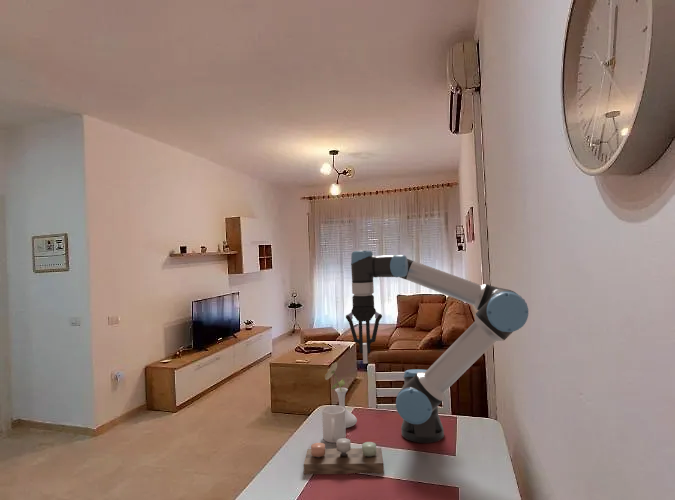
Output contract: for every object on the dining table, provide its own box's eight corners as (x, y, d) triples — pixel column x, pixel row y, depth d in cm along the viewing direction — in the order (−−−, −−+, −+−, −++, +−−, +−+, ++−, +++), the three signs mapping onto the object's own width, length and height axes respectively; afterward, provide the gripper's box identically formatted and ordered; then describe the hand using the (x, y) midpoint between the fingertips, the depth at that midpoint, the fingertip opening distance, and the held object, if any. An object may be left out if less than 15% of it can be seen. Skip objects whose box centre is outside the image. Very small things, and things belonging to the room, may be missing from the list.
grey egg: (350, 451, 129) (350, 438, 129) (350, 458, 125) (350, 444, 125) (337, 451, 129) (336, 438, 130) (336, 458, 125) (336, 444, 125)
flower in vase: (343, 417, 167) (341, 355, 168) (363, 424, 158) (360, 360, 159) (318, 426, 158) (316, 362, 159) (338, 435, 150) (336, 366, 150)
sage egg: (376, 455, 129) (375, 441, 129) (377, 462, 125) (376, 448, 125) (362, 455, 129) (361, 442, 129) (362, 462, 125) (362, 448, 125)
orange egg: (325, 455, 130) (325, 442, 130) (325, 462, 125) (324, 448, 125) (312, 456, 130) (311, 442, 130) (310, 462, 125) (310, 449, 125)
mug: (345, 448, 139) (344, 417, 139) (321, 448, 139) (320, 418, 140) (346, 433, 151) (345, 405, 151) (324, 433, 151) (323, 405, 152)
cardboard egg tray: (381, 457, 132) (381, 447, 132) (383, 473, 122) (383, 463, 122) (307, 458, 133) (307, 449, 133) (304, 474, 123) (303, 464, 123)
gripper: (380, 293, 146) (383, 359, 145) (344, 294, 146) (346, 360, 146) (382, 294, 138) (384, 364, 138) (344, 296, 139) (346, 365, 138)
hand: (365, 362), depth 142 cm, fingers closed
